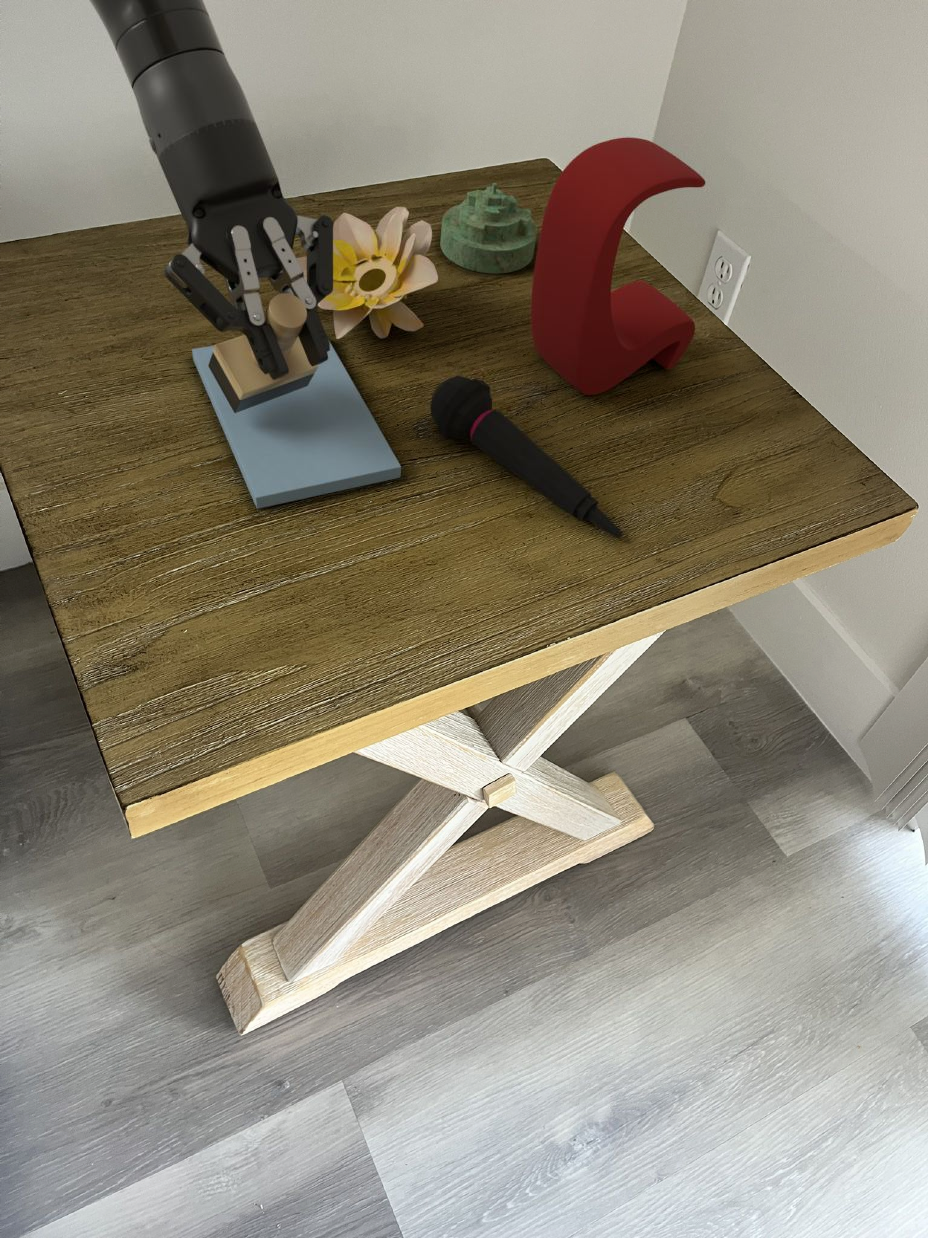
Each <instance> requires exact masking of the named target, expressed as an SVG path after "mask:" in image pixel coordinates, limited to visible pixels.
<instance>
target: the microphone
mask: <svg viewBox="0 0 928 1238" xmlns="http://www.w3.org/2000/svg"><path fill="white" fill-rule="evenodd" d="M429 407H430V416H431V419H432V420H433V422H434V424H435V425H436V426H437V428H438V435H440V436H441V437H443V438H444V439H445V440H450V441H451V440H452V441H457V440H458V439H459V440H469V439H470V441H471V444H472V445H473V446H475V447H477V449H479V450H480V451H482V452H483V453H485V454H486V455H488V456H489V457H490V458H492V459H493V460H495V461H494V462H495V463H496V464H497V465H498V466H499V467H501V468H502V469H504V470H505V471H506V472H508V473H513V474H514V475H515V476H516V477H517V478H520V479H521V480H522V481H524V482H525V483H526V484H528V485H529V486H531V487H532V488H533V489H534V490H536V491H537V492H538V493H540V494H542V495H543V496H544V497H546V498H547V499H549V500H550V501H551V502H553V503H554V504H556V505H557V506H558V507H560V508H561V509H563V510H564V511H565V512H567V513H568V514H569V515H571V516H572V517H576V518H577V519H579V520H580V521H581V522H583V521H586V520H588V521H590V522H591V523H592V524H594V525H595V526H596V527H598V528H600V529H601V530H603V531H604V532H606V533H608V534H610V535H611V536H613V537H615V539H619V538H620V537H622V535H623V532H622V531H621V530H620V529H619V527H618V526H616V524H615V523H614V522H613V521H612V520H611V519H610V518H609V517H608V516H607V515H606V514H605V513H604V512H603V511H602V510H600V508H598V505H599V501H598V500H597V499H596V498H594V497H593V496H592V493H591V492H590V491H589V490H588V489H586V488H585V487H584V486H583V485H582V484H581V483H580V482H579V481H578V480H577V479H576V478H574V477H573V476H572V475H571V474H570V473H569V472H568V471H567V470H565V468H563V467H562V466H561V465H560V464H559V463H558V462H557V461H556V460H554V459H553V457H551V455H549V454H548V453H547V452H545V451H544V450H543V449H542V447H540V446H539V445H538V444H536V443H535V441H534V440H533V439H532V438H530V437H529V436H528V435H527V434H526V433H524V431H522V430H521V429H520V428H519V427H518V426H517V425H516V424H515V423H513V422H512V421H511V420H510V419H509V418H507V416H505V414H504V413H502V412H501V411H500V410H497V409H493V398H492V396H491V386H490V385H489V384H488V383H486V382H485V380H481V379H478V378H473V379H472V378H469V377H466V376H462V375H459V374H457V375H454V376H452V377H449V378H447V379H445V380H444V381H442V382H440V384H438V386H437V387H436V388H435V389H434V392H433V394H432V396H431V400H430V406H429Z"/></svg>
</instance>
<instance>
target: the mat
mask: <svg viewBox="0 0 928 1238" xmlns="http://www.w3.org/2000/svg"><path fill="white" fill-rule="evenodd" d="M329 343H330V351H328V352H327V354H328V360H326V361H325V362H323V363H321V364H319V365H318V368H317V370H316V372H315V374H314V376H313V377H312V379H311V381H310V383H309V384H308V386H307V387H304V388H301V389H299V390H296V391H293V392H291V393H288V394H285V395H283V396H280V397H277V398H275V399H272V400H269V401H267V402H264V403H261V404H259V405H256V406H253V407H251V408H248V409H245V410H243V411H240V412H237V413H234V411H233V410H232V408H231V406H230V404H229V402H228V401H227V399H226V397H225V395H224V393H223V392H222V390H221V388H220V386H219V384H218V383H217V381H216V379H215V377H214V375H213V374H212V372H211V370H210V368H209V366H208V365H209V362H210V359H211V356H212V353H213V350H214V347H215V345H209V346H203V347H197V348H192V349H191V352H192V360H193V362H194V365H195V367H196V370H197V372H198V374H199V377H200V378H201V382H202V383H203V386H204V388H205V391H206V393H207V395H208V397H209V400H210V402H211V404H212V408H213V409H214V412H215V414H216V417H217V419H218V421H219V424H220V426H221V428H222V431H223V432H224V436H225V437H226V440H227V443H228V444H229V447H230V449H231V451H232V454H233V456H234V459H235V460H236V463H237V466H238V468H239V470H240V472H241V476H242V478H243V479H244V482H245V484H246V487H247V489H248V491H249V494H250V496H251V498H252V500H253V503H254V505H255V507H256V509H258V510H259V509H262V508H268V507H271V506H277V505H281V504H285V503H290V502H295V501H299V500H303V499H309V498H315V497H318V496H322V495H327V494H332V493H335V492H341V491H346V490H350V489H355V488H359V487H364V486H368V485H372V484H378V483H381V482H387V481H391V480H396V479H400V478H401V475H402V466H401V464H400V462H399V460H398V458H397V457H396V455H395V453H394V451H393V450H392V447H391V446H390V444H389V443H388V441H387V440H386V439H387V438H385V436H384V434H383V433H382V431H381V429H380V427H379V425H378V423H377V422H376V420H375V418H374V416H373V415H372V413H371V411H370V409H369V408H368V406H367V404H366V403H365V400H364V399H363V398H362V396H361V394H360V391H359V390H358V388H357V387H356V385H355V383H354V381H353V380H352V378H351V376H350V375H349V373H348V370H347V369H346V368H345V366H344V364H343V363H342V361H341V359H340V357H339V355H338V353H337V351H336V349H335V348H334V347H333V345H332V343H331V342H330V340H329Z"/></svg>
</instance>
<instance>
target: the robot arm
mask: <svg viewBox="0 0 928 1238" xmlns="http://www.w3.org/2000/svg"><path fill="white" fill-rule="evenodd" d="M89 2H90V4H91V6H92V7H93V9H94V10H95V12H96V14H97V15H98V17H99V20H100V21H101V23H102V24H103V26H104V28H105V30H106V32H107V34H108V36H109V39H110V40H111V43H112V45H113V47H114V49H115V51H116V54H117V56H118V59H119V61H120V63H121V66H122V68H123V70H124V73H125V75H126V78H127V80H128V82H129V84H130V85H129V86H130V87H131V89H132V93H133V95H134V98H135V100H136V103H137V107H138V110H139V114H140V117H141V121H142V124H143V126H144V130H145V132H146V134H147V136H148V142H149V145H150V147H151V150H152V152H153V153H154V154H155V156H156V158H157V160H158V163H159V165H160V167H161V169H162V172H163V174H164V177H165V179H166V182H167V183H168V186H169V189H170V191H171V193H172V196H173V198H174V200H175V202H176V205H177V207H178V210H179V212H180V214H181V217H182V218H183V220H184V222H185V224H186V227H187V245H188V246H187V247H186V249H184V250H183V251H182V252H181V253H178V254H175V255H174V256H173V257H172V259H171V260H170V261H169V263H168V264H166V266H165V268H164V271H163V273H164V276H165V278H166V280H168V281H169V282H170V283H171V284H172V286H174V287H175V288H176V289H177V291H179V293H181V294H182V295H183V297H184V298H186V299H187V300H188V302H190V304H191V305H193V307H194V308H195V309H197V311H199V312H200V314H201V315H202V316H203V317H204V318H205V319H206V320H207V321H208V322H209V323H210V324H211V325H212V326H213V327H214V328H215V329H216V330H217V331H219V332H221V333H226V332H228V331H232V332H240V333H241V334H243V335H245V336H246V337H247V339H248V341H249V344H250V346H251V349H252V351H253V353H254V356H255V358H256V360H257V363H258V365H259V368H260V369H261V371H262V372H263V373H264V374H268V373H269V374H270V377H271V378H272V379H273V380H276V379H278V378H281V377H283V376H285V375H287V374H288V373H289V369H288V366H287V363H286V361H285V358H284V356H283V353H282V351H281V349H280V346H279V344H278V341H277V339H276V337H275V334H274V332H273V329H272V327H271V325H270V324H268V325H266V324H265V314H266V313H265V311H264V306H263V301H262V298H261V295H260V294H261V293H260V291H261V283H260V280H259V279H268V281H269V282H270V285H271V286H272V288H273V290H274V291H275V292H277V293H278V294H282V293H287V294H292V295H294V296H296V297H297V298H299V299H300V300H301V301H302V302H303V303H304V305H305V307H306V310H307V318H306V321H305V323H304V325H303V327H302V329H301V331H300V333H299V335H298V337H299V339H300V342H301V344H302V346H303V349H304V351H305V354H306V356H307V359H308V361H309V363H310V365H311V366H316V365H319V364H321V363H323V362H325V361H326V360H328V354H327V352H328V351H330V343H331V342H330V343H329V341H330V340H329V337H328V336H327V333H326V331H325V328H324V325H323V323H322V320H321V318H320V316H319V313H318V303H319V302H320V301H321V300H323V299H324V298H325V297H326V296H328V295H329V294H330V293H332V291H333V239H334V238H333V226H334V222H333V220H332V219H331V218H330V216H328V215H320V216H319V218H311V217H307V216H303V215H298V214H297V212H296V210H295V209H294V207H293V206H292V205H291V204H290V203H289V202H288V201H287V200H286V198H285V197H284V195H283V192H282V188H281V185H280V184H281V183H280V180H279V178H278V177H279V176H278V174H277V171H276V170H275V168H274V164H273V162H272V160H271V157H270V155H269V152H268V150H267V149H268V148H267V147H266V144H265V142H264V140H263V137H262V135H261V131H260V130H259V127H258V125H257V122H256V120H255V118H254V114H253V112H252V110H251V106H250V105H249V102H248V100H247V96H246V95H245V93H244V90H243V88H242V86H241V84H240V82H239V80H238V78H237V76H236V74H235V72H234V71H233V69H232V67H231V66H230V63H229V61H228V59H227V57H226V54H225V52H224V49H223V47H222V44H221V42H220V39H219V36H218V35H217V32H216V29H215V27H214V24H213V21H212V19H211V16H210V14H209V12H208V9H207V6H206V4H205V1H204V0H89ZM296 234H297V236H298V238H299V241H300V245H301V247H302V248H304V249H306V256H307V282H306V281H305V279H304V272H303V269H302V267H301V265H300V264H299V262H298V260H297V258H298V257H296V255H295V253H294V251H293V249H294V244H295V238H296ZM201 261H202V262H203V263H205V264H206V265H208V267H210V268H211V269H213V270H214V271H215V272H217V273H218V274H219V275H220V276H222V277H223V278H224V281H225V285H226V290H227V294H228V296H229V299H228V298H227V297H226V296H225V295H224V294H223V293H222V292H221V291H220V290H219V289H218V288H217V287H216V286H215V285H214V284H213V283H212V281H210V280H209V279H208V278H207V276H206V275H205V274H206V269H205V266H204V265H203V264H202V262H201Z"/></svg>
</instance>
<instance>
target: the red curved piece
mask: <svg viewBox="0 0 928 1238" xmlns="http://www.w3.org/2000/svg"><path fill="white" fill-rule="evenodd" d="M705 185H706V180H705V178H704V177H703V176H702V175H701V174H700V173H699V172H697V171H696V170H695V169H693V168H692V167H690V166H689V164H687V163H685V162H684V161H683V160H681V159H680V158H678V157H677V156H675V155H674V154H673V153H671V152H670V151H668V150H667V149H665V148H663V147H662V146H660V145H659V144H656V143H655V142H653V141H651V140H648V139H645V138H639V137H629V136H627V137H618V138H612V139H609V140H604V141H601V142H598V143H596V144H593V145H591V146H589V147H588V148H586V149H584V150H583V151H582V152H580V153H579V154H578V155H576V156H575V157H574V158H573V159H572V160H571V161H570V162H569V163H568V164H567V165H566V166H565V168H564V169H563V170H562V172H561V173H560V174H559V177H558V178H557V179H556V181H555V183H554V185H553V188H552V190H551V192H550V196H549V198H548V201H547V204H546V207H545V211H544V215H543V219H542V223H541V227H540V233H539V239H538V245H537V251H536V256H535V263H534V270H533V276H532V277H533V278H532V286H531V287H532V288H531V300H530V328H531V329H530V331H531V336H532V342H533V346H534V349H535V350H536V353H538V355H539V356H540V357H541V358H542V359H543V360H544V361H545V363H546V364H548V365H549V367H551V369H553V370H554V371H555V372H556V373H557V374H558V375H559V376H560V377H561V378H562V379H564V381H566V382H567V383H568V384H569V385H570V386H571V387H572V388H573V389H575V390H577V391H578V392H579V393H581V394H583V395H586V396H595V395H599V394H602V393H604V392H607V391H609V390H611V389H613V388H614V387H616V386H617V385H618V384H620V383H622V382H623V381H624V380H626V379H627V378H629V377H630V376H631V375H632V374H634V373H635V372H636V371H638V370H639V369H640V368H641V367H643V366H644V365H645V364H647V363H648V362H649V361H650V360H653V361H654V362H655V363H657V364H658V365H659V366H660V367H662V368H664V369H665V370H667V371H668V370H669V371H670V370H672V369H673V368H674V367H675V366H676V364H677V363H678V362H679V360H680V359H681V357H682V356H683V355H684V353H685V351H687V349H688V347H689V346H690V344H691V342H692V340H693V338H694V335H695V332H696V324H695V321H694V320H693V318H691V316H690V315H688V313H686V311H684V310H683V309H682V308H681V307H679V305H678V304H676V303H675V302H674V301H673V300H672V299H670V298H669V297H667V295H665V294H664V293H663V292H661V291H660V290H658V289H657V288H656V287H655V286H653V285H651V284H650V283H648V282H646V281H645V280H636V281H633V282H629V283H627V284H624V285H621V286H620V287H618V288H616V289H614V290H613V291H612V282H613V275H614V270H615V269H614V268H615V262H616V259H617V255H618V250H619V245H620V242H621V239H622V235H623V232H624V228H625V226H626V223H627V221H628V219H629V217H630V216H631V215H632V213H633V212H634V211H635V210H636V209H637V208H638V207H639V206H640V205H641V204H643V203H644V202H645V201H647V200H649V199H650V198H652V197H654V196H656V195H660V194H662V193H665V192H668V191H672V190H677V189H684V188H685V189H686V188H704V186H705Z"/></svg>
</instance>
